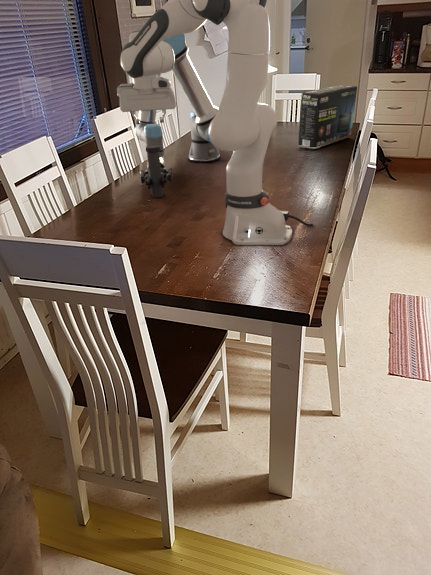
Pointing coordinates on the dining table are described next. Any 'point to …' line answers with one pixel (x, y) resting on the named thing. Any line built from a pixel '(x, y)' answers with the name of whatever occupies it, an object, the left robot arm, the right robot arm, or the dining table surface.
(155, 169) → the dark grey cylinder
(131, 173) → the dining table surface
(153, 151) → the lid
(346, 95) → the router box
